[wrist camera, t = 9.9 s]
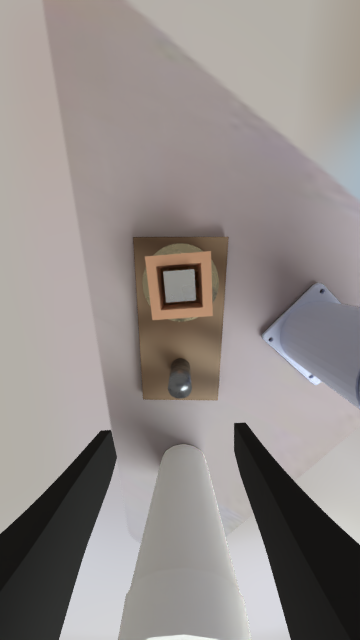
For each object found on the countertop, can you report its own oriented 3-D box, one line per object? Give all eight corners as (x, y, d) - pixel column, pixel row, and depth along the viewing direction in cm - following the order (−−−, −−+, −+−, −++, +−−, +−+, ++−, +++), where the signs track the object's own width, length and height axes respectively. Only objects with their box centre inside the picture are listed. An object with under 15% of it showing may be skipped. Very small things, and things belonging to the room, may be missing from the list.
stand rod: (194, 366, 19) (196, 387, 15) (181, 379, 19) (181, 402, 16) (179, 354, 18) (178, 373, 15) (166, 367, 19) (163, 389, 15)
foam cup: (197, 493, 25) (213, 710, 12) (141, 473, 24) (96, 682, 12) (228, 449, 23) (284, 657, 10) (167, 425, 22) (147, 619, 10)
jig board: (216, 394, 21) (217, 400, 20) (145, 393, 21) (143, 399, 20) (225, 239, 16) (228, 236, 16) (136, 239, 17) (133, 237, 16)
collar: (205, 256, 16) (210, 250, 13) (207, 309, 17) (212, 316, 14) (151, 260, 16) (144, 256, 13) (157, 313, 17) (152, 320, 14)
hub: (217, 240, 16) (228, 228, 12) (219, 318, 17) (228, 329, 14) (138, 247, 16) (124, 237, 12) (147, 323, 18) (138, 335, 14)
